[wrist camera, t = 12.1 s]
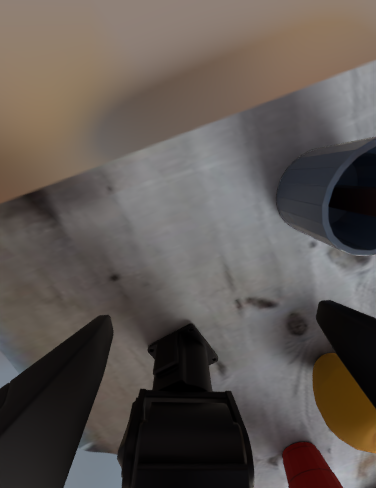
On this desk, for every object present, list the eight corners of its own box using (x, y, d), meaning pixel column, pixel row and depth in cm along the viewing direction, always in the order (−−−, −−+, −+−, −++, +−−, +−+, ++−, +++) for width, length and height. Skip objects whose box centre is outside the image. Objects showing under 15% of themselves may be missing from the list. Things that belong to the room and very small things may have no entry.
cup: (366, 205, 19) (452, 218, 13) (293, 245, 21) (342, 274, 14) (343, 129, 17) (433, 103, 11) (262, 178, 18) (304, 180, 12)
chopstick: (329, 184, 18) (493, 194, 9) (326, 202, 19) (477, 229, 9) (312, 185, 18) (457, 196, 9) (309, 203, 19) (444, 231, 9)
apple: (366, 326, 25) (464, 406, 16) (359, 377, 27) (439, 468, 19) (293, 339, 25) (353, 425, 16) (294, 388, 28) (345, 483, 19)
